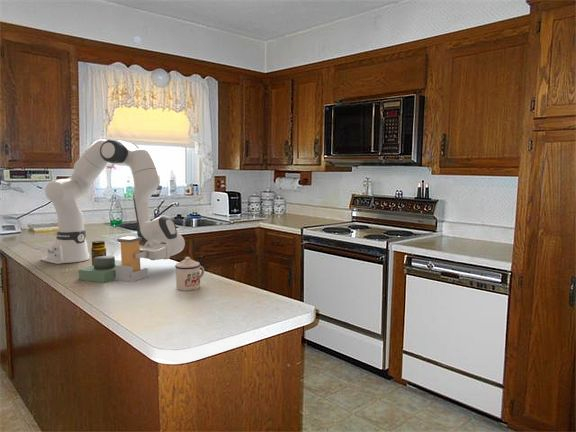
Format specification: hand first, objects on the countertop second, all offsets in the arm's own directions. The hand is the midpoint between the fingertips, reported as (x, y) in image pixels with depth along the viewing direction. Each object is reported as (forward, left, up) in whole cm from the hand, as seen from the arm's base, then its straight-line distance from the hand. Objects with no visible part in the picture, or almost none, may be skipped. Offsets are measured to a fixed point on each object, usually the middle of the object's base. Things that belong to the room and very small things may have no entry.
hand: (128, 255), depth 179 cm
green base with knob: (-7, 0, -9) cm, 12 cm away
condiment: (-26, +8, -10) cm, 29 cm away
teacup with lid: (+30, 0, -10) cm, 32 cm away
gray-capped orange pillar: (0, +1, -7) cm, 7 cm away
